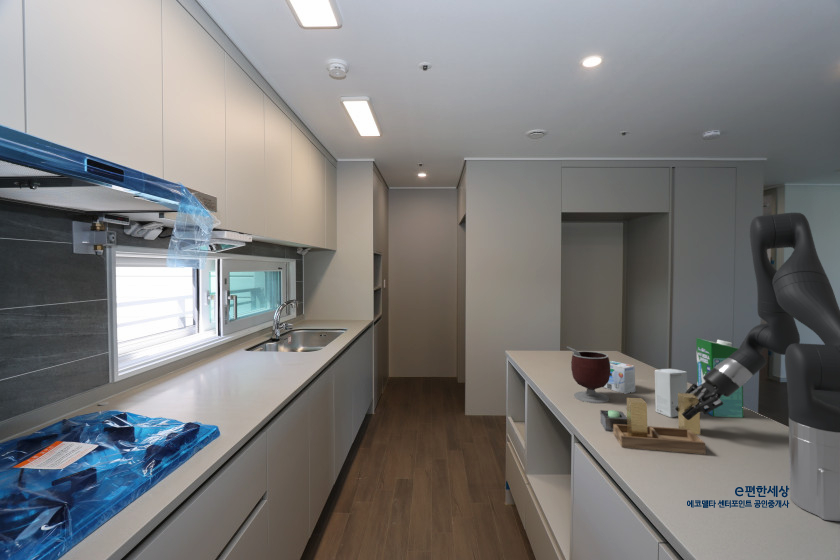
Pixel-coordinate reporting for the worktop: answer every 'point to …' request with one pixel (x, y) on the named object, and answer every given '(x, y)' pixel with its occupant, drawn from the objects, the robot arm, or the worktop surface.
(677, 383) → the skincare box
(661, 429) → the tray
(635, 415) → the billet
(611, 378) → the light bulb box
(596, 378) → the mate gourd
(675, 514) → the worktop surface
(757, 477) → the worktop surface
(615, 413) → the button
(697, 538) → the worktop surface
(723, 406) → the milk carton
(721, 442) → the worktop surface
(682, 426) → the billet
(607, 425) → the button housing
